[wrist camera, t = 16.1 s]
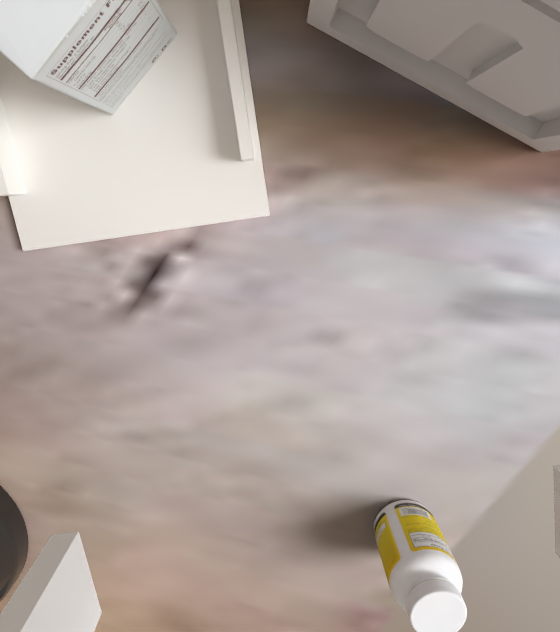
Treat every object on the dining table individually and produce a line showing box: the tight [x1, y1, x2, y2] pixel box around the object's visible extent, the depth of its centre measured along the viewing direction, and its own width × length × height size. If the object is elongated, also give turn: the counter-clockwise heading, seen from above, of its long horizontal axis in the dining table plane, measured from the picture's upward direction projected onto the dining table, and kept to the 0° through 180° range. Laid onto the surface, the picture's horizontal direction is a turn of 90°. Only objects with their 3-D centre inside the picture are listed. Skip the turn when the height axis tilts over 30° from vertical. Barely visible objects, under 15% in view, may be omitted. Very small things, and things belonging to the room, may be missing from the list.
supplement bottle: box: [374, 500, 467, 632], centre depth 40 cm, size 5×5×10 cm
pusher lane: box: [0, 0, 270, 251], centre depth 30 cm, size 19×25×11 cm
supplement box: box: [0, 0, 177, 115], centre depth 28 cm, size 7×7×13 cm
